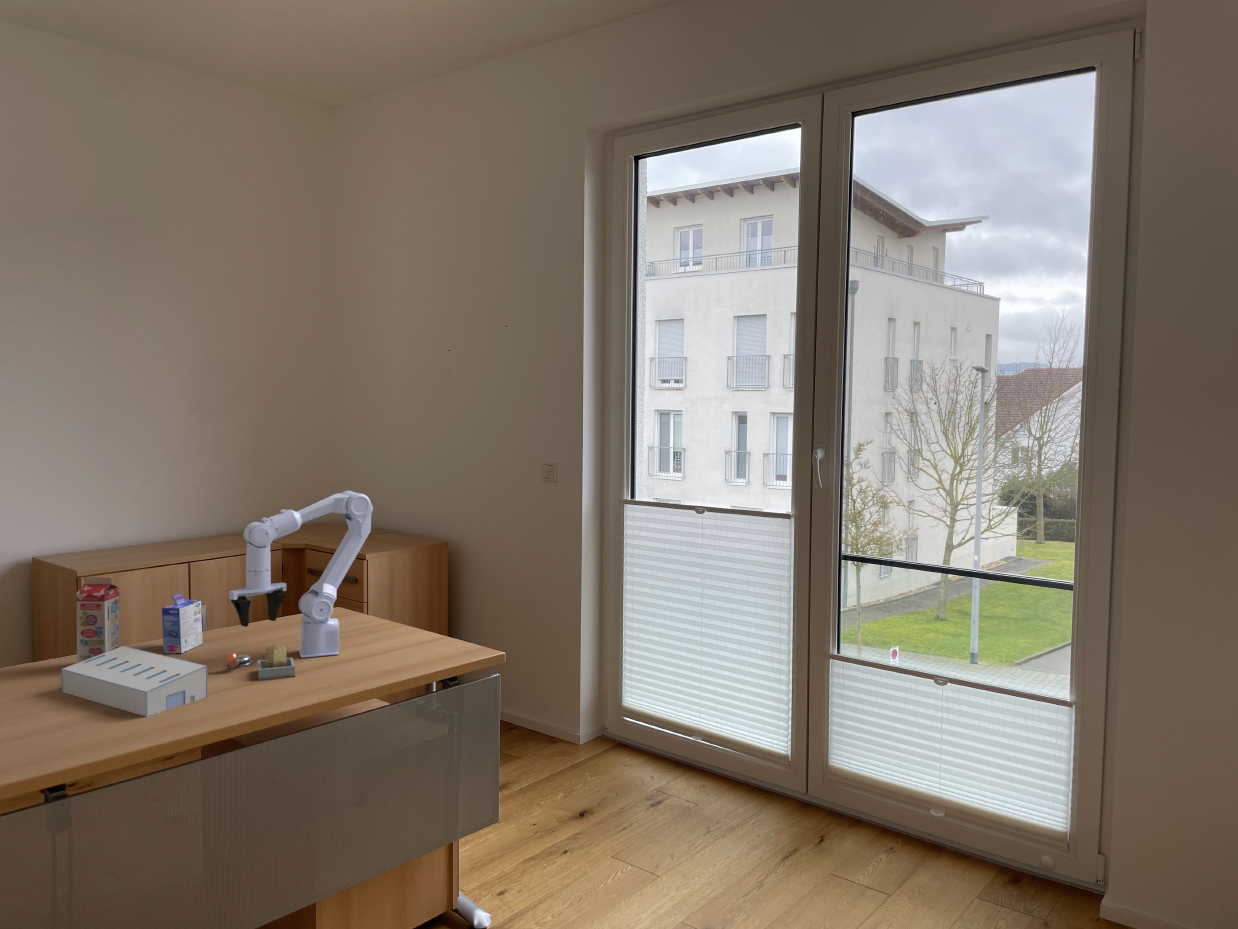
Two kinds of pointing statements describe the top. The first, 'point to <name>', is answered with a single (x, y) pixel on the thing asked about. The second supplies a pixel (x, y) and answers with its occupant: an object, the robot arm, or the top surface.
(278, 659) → the block
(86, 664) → the warehouse
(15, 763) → the top surface
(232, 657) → the crank
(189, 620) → the ink cartridge box
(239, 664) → the bearing
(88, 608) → the juice carton
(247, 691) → the top surface
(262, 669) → the tray
